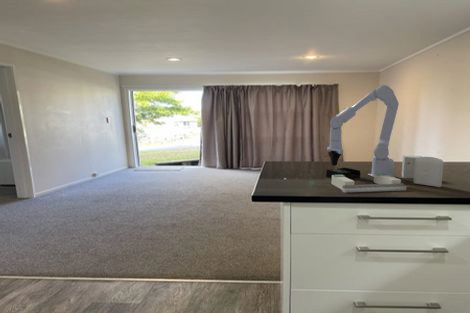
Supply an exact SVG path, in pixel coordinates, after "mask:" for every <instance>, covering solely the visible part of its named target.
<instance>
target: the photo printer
mask: <svg viewBox="0 0 470 313" xmlns="http://www.w3.org/2000/svg"><path fill="white" fill-rule="evenodd" d="M443 172H444V160H443V159H441V158H438V157H435V156H434V157H433V156H422V157H419V158H416V160H415V167H414V179H413V184H416V185H422V186H430V187H435V188H441V187H442V184H443Z"/></svg>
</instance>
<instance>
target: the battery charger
mask: <svg viewBox="0 0 470 313" xmlns="http://www.w3.org/2000/svg"><path fill="white" fill-rule="evenodd" d="M332 175H344V176H345V177H346V178H348V179H351V180H355V178H356V179H360V178H361V170H359V169H356V168H350V167H340V168H338V167H337V168H331V169H326V172H325V176H326V178H329V179H332Z"/></svg>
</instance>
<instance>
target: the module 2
mask: <svg viewBox="0 0 470 313" xmlns="http://www.w3.org/2000/svg"><path fill="white" fill-rule="evenodd" d="M373 183H374V184H400V183H402V180H401V179H400V178H397V177H395V178H394V177H391V176H388V174H385V173H379V174H374V177H373Z"/></svg>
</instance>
